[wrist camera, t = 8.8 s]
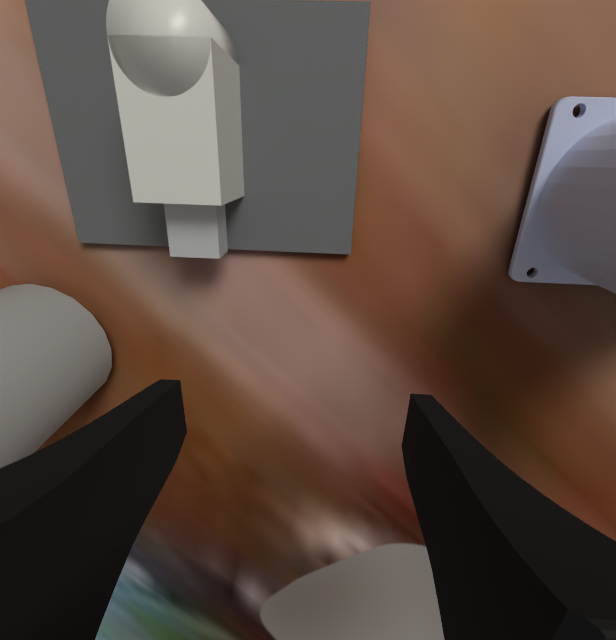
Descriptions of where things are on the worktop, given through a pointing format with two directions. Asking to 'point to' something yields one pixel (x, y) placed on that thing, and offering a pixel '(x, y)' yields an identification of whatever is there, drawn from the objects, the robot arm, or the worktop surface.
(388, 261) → the worktop surface
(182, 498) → the worktop surface
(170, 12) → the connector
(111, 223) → the mat
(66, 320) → the can
